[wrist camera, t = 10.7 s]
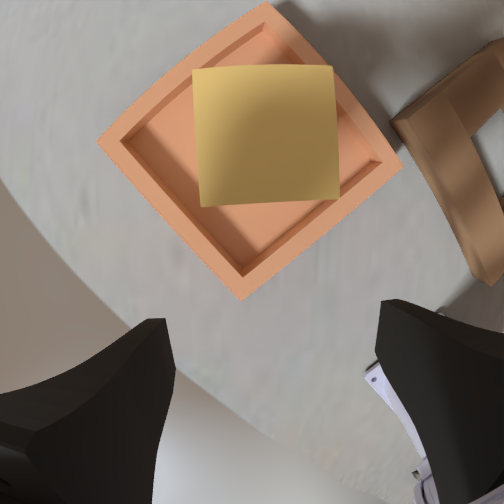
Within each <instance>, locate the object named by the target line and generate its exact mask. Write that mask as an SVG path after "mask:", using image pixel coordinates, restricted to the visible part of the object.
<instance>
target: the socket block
mask: <svg viewBox="0 0 504 504" xmlns="http://www.w3.org/2000/svg"><path fill="white" fill-rule="evenodd" d="M500 107H502V109H503V111H504V38H500V39H497V40H494V41H491V42H490V43H488V44H487V45H486V46H484V47H483V48H482V49H481V50H479V51H478V52H477V53H475V54H474V55H473V56H472V57H470V58H469V59H468V60H466V61H465V62H464V63H463V64H461V65H460V66H459V67H458V68H456V69H455V70H454V71H452V72H451V73H450V74H449V75H447V76H446V77H445V78H444V79H442V80H441V81H440V82H438V83H437V84H436V85H435V86H433V87H432V88H431V89H430V90H428V91H427V92H426V93H425V94H423V95H422V96H421V97H420V98H418V99H417V100H416V101H415V102H413V103H412V104H411V105H410V106H408V107H407V108H406V109H404V110H403V111H402V112H401V113H400V114H398V115H397V116H396V117H395V118H393V119H392V120H391V121H390V124H391V125H392V127H393V128H394V130H395V131H396V133H397V134H398V136H399V137H400V139H401V140H402V142H403V143H404V145H405V146H406V148H407V149H408V151H409V153H410V154H411V156H412V157H413V159H414V161H415V162H416V164H417V166H418V167H419V169H420V171H421V172H422V174H423V176H424V177H425V179H426V181H427V183H428V184H429V186H430V188H431V190H432V191H433V193H434V195H435V197H436V199H437V201H438V203H439V204H440V206H441V208H442V210H443V212H444V214H445V216H446V218H447V220H448V222H449V224H450V226H451V228H452V230H453V232H454V234H455V236H456V238H457V241H458V243H459V245H460V247H461V249H462V252H463V254H464V256H465V258H466V261H467V263H468V265H469V268H470V270H471V273H472V275H473V276H474V277H475V278H477V279H479V280H480V281H482V282H484V283H485V284H487V285H488V286H490V287H492V286H493V285H494V284H495V283H496V282H497V281H498V279H499V278H500V277H501V276H502V275H503V274H504V196H503V197H502V198H501V199H500V200H499V201H498V198H497V196H496V193H495V191H494V188H493V186H492V184H491V181H490V179H489V177H488V174H487V172H486V170H485V168H484V165H483V163H482V161H481V159H480V157H479V155H478V153H477V151H476V149H475V147H474V145H473V143H472V141H471V139H470V137H471V136H472V135H473V134H474V133H475V132H476V131H477V130H478V129H479V128H480V127H481V126H482V125H483V124H484V123H485V122H486V121H487V120H488V119H489V118H490V117H491V116H492V115H493V114H494V113H495V112H496V111H497V110H498V109H499V108H500Z"/></svg>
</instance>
